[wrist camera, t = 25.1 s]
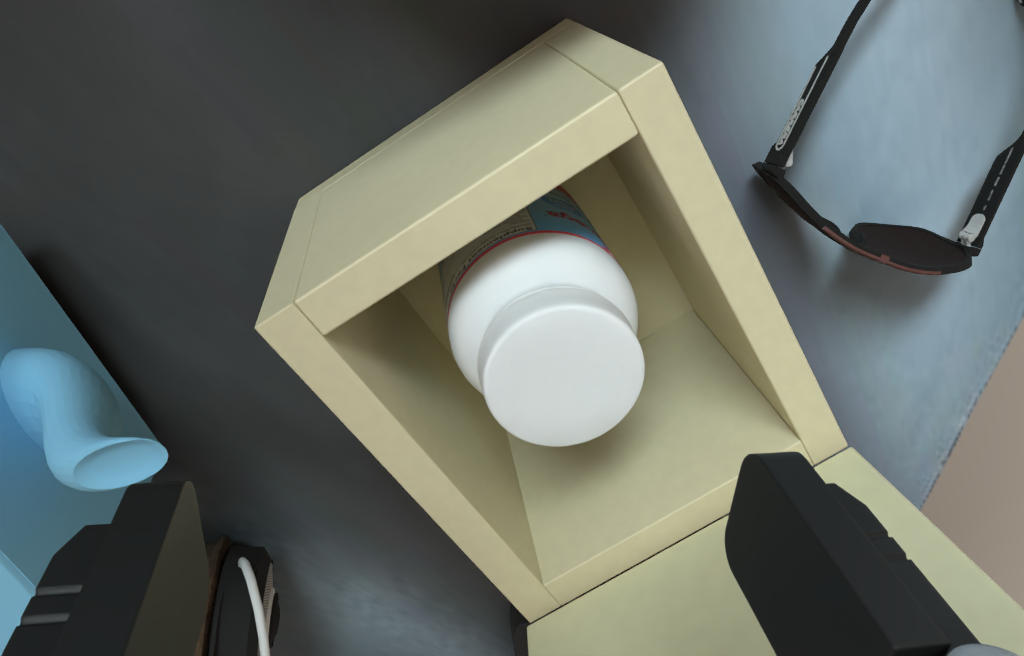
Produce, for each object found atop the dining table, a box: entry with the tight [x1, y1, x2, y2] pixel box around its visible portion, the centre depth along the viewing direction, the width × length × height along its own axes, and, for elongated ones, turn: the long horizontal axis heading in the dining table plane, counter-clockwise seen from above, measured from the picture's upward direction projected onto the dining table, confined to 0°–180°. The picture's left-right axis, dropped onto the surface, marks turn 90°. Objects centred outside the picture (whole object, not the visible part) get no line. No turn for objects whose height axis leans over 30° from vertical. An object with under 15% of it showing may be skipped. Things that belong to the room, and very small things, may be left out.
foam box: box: [255, 19, 847, 623], centre depth 28 cm, size 15×13×11 cm
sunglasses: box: [752, 0, 1024, 275], centre depth 30 cm, size 10×12×5 cm
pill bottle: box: [438, 185, 645, 447], centre depth 26 cm, size 6×6×11 cm
